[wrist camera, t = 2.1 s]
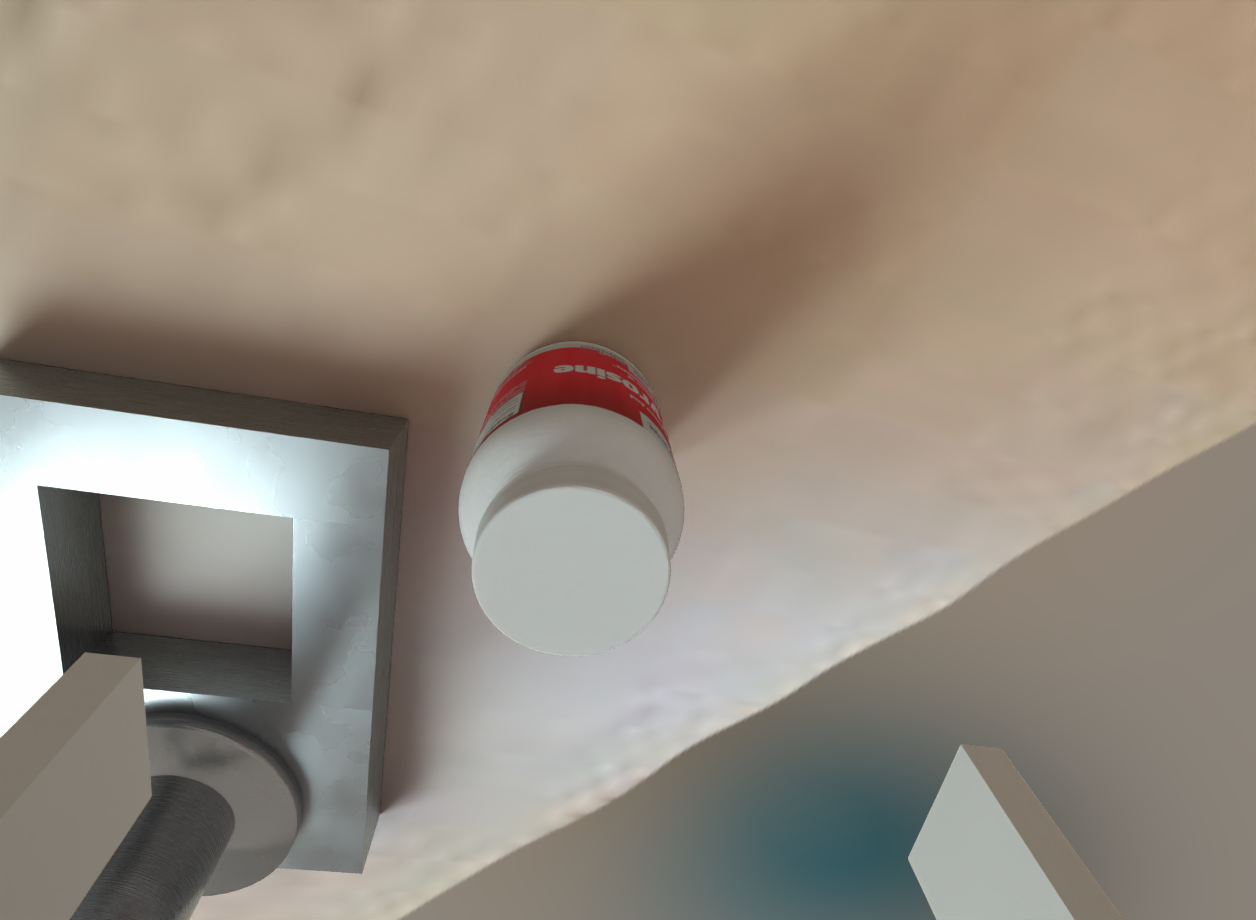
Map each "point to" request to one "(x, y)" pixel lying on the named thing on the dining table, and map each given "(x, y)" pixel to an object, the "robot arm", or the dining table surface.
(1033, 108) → the dining table surface
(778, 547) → the dining table surface
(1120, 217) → the dining table surface
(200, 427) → the rosette post
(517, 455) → the pill bottle
